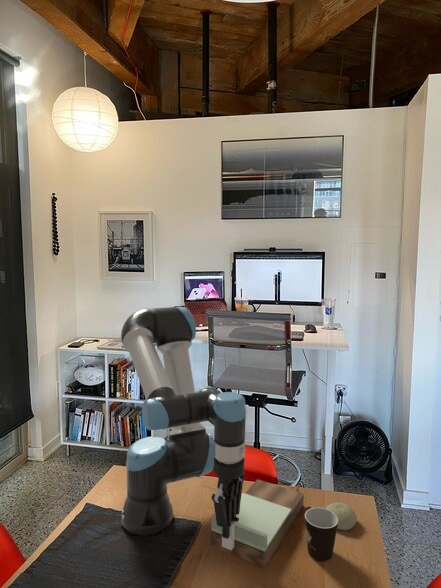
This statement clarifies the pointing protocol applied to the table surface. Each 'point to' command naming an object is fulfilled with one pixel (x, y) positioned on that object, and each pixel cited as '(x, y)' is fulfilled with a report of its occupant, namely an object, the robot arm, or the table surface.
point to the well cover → (256, 521)
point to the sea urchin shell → (343, 515)
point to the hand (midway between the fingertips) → (228, 546)
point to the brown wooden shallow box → (262, 558)
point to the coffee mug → (320, 532)
